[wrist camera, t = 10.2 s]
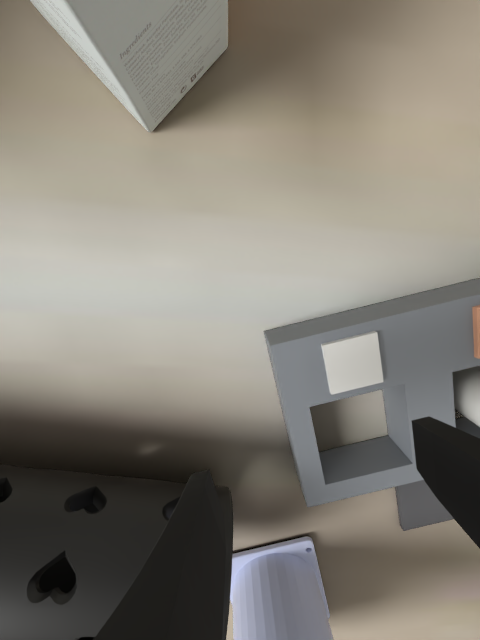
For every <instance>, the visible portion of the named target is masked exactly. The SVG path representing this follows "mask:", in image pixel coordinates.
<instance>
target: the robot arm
mask: <svg viewBox="0 0 480 640" xmlns="http://www.w3.org/2000/svg"><path fill="white" fill-rule="evenodd" d="M412 430H413V439H414V449H415V458H416V468H417V470H418V472H419V473H420V475H421V476H422V478H423V479H424V481H425V482H426V484H427V485H428V486H429V488H430V489H431V491H432V492H433V494H434V495H435V496H436V498H437V499H438V500H439V501H440V503H441V504H442V505H443V506H444V507H445V509H446V510H447V511H448V512H449V513H450V514H451V516H452V517H453V518H454V519H455V520H456V522H457V523H458V524H459V525H460V526H461V527H462V528H463V530H464V531H465V532H466V533H467V534H468V535H469V537H470V538H471V539H472V540H473V541H474V542H475V543H476V545H477V546H478V547H479V548H480V438H477V437H475V436H473V435H471V434H469V433H466V432H464V431H462V430H460V429H457V428H455V427H453V426H451V425H448V424H446V423H444V422H442V421H439V420H437V419H434V418H432V417H429V416H428V417H424V418H420V419H416V420H412ZM225 560H226V542H225V524H224V514H223V511H222V508H221V505H220V501H219V498H218V495H217V492H216V489H215V486H214V483H213V480H212V477H211V474H210V470H205V471H201V472H197V473H193V474H192V475H191V476H190V478H189V480H188V482H187V484H186V487H185V489H184V491H183V493H182V495H181V497H180V499H179V501H178V503H177V505H176V507H175V509H174V511H173V513H172V515H171V517H170V519H169V521H168V523H167V524H166V526H165V528H164V530H163V532H162V534H161V536H160V538H159V539H158V541H157V543H156V545H155V546H154V548H153V550H152V552H151V553H150V555H149V557H148V558H147V560H146V562H145V564H144V565H143V567H142V569H141V570H140V572H139V573H138V575H137V577H136V578H135V580H134V581H133V583H132V585H131V586H130V588H129V589H128V591H127V592H126V594H125V595H124V597H123V598H122V600H121V601H120V603H119V604H118V606H117V607H116V609H115V610H114V612H113V613H112V614H111V616H110V617H109V619H108V620H107V621H106V623H105V624H104V626H103V627H102V628H101V630H100V631H99V632H98V634H97V635H96V636H95V638H94V639H93V640H222V631H223V608H224V585H225ZM230 600H231V603H232V606H233V640H334V639H333V635H332V632H331V628H330V624H329V621H328V619H329V617H330V613H329V609H328V604H327V600H326V596H325V591H324V587H323V583H322V578H321V574H320V570H319V565H318V561H317V557H316V553H315V548H314V544H313V540H312V538H310V537H308V536H306V537H302V538H297V539H293V540H289V541H285V542H281V543H276V544H272V545H268V546H264V547H260V548H255V549H251V550H247V551H243V552H239V553H234V554H232V574H231V590H230Z"/></svg>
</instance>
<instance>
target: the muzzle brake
mask: <svg viewBox="0 0 480 640" xmlns="http://www.w3.org/2000/svg"><path fill="white" fill-rule="evenodd" d="M186 484H187V483H176V482H171V481H164V480H154V479H144V478H133V477H115V476H108V475H96V474H93V473H83V472H73V471H62V470H52V469H33V468H26V467H17V466H12V465H2V464H0V640H93V639H94V638H95V636H96V635H97V634H98V632H99V631H100V630H101V628H102V627H103V626H104V624H105V623H106V621H107V620H108V619H109V617H110V616H111V614H112V613H113V612H114V610H115V609H116V607H117V606H118V604H119V603H120V601H121V600H122V598H123V597H124V595H125V594H126V592H127V591H128V589H129V588H130V586H131V585H132V583H133V581H134V580H135V578H136V577H137V575H138V573H139V572H140V570H141V569H142V567H143V565H144V564H145V562H146V560H147V558H148V557H149V555H150V553H151V552H152V550H153V548H154V546H155V545H156V543H157V541H158V539H159V538H160V536H161V534H162V532H163V530H164V528H165V526H166V524H167V523H168V521H169V519H170V517H171V515H172V513H173V511H174V509H175V507H176V505H177V503H178V501H179V499H180V497H181V495H182V493H183V491H184V489H185V487H186ZM215 489H216V492H217V495H218V498H219V501H220V505H221V508H222V511H223V514H224V524H225V542H226V560H225V585H224V608H223V631H222V640H226V634H227V624H228V615H229V603H230V590H231V574H232V552H233V508H232V496H231V492H230V490H229V488H228V487H225V486H215Z"/></svg>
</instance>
